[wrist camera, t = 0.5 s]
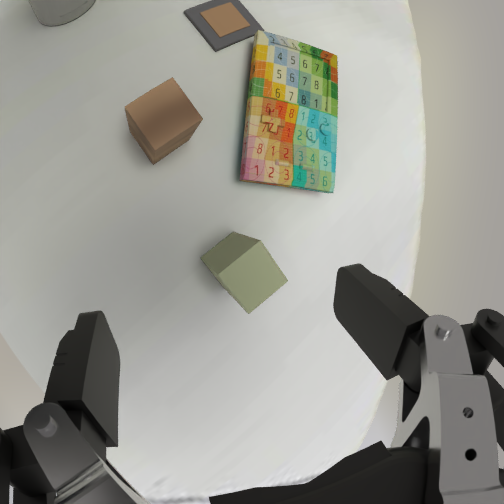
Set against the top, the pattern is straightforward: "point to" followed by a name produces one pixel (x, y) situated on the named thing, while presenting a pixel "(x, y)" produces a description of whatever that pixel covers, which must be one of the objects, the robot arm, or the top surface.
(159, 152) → the walnut block
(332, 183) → the puzzle game
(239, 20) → the tile
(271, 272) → the olive block
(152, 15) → the top surface
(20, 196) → the top surface
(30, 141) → the top surface
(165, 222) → the top surface
